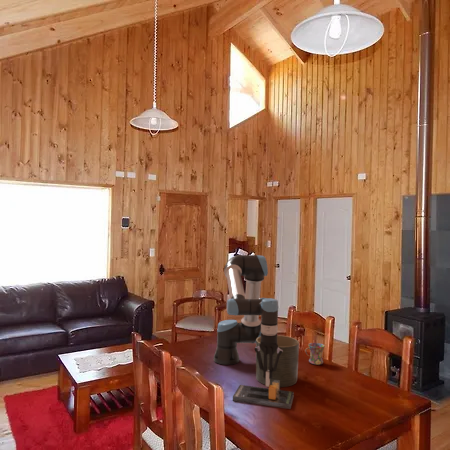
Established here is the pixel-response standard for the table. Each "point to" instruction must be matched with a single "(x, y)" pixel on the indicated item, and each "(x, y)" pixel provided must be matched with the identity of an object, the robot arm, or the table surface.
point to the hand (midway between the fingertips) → (267, 385)
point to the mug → (315, 353)
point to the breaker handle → (272, 392)
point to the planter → (281, 362)
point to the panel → (264, 396)
